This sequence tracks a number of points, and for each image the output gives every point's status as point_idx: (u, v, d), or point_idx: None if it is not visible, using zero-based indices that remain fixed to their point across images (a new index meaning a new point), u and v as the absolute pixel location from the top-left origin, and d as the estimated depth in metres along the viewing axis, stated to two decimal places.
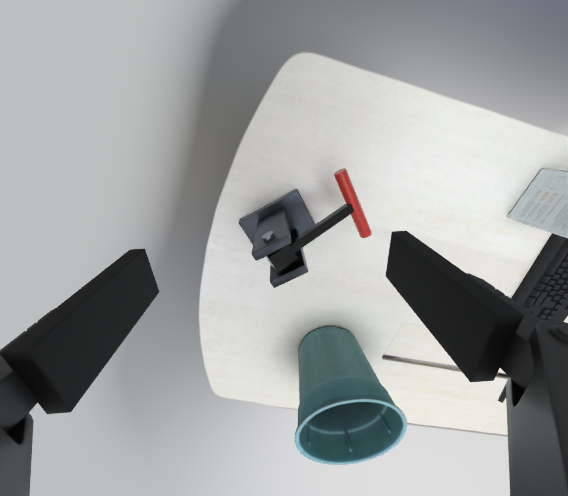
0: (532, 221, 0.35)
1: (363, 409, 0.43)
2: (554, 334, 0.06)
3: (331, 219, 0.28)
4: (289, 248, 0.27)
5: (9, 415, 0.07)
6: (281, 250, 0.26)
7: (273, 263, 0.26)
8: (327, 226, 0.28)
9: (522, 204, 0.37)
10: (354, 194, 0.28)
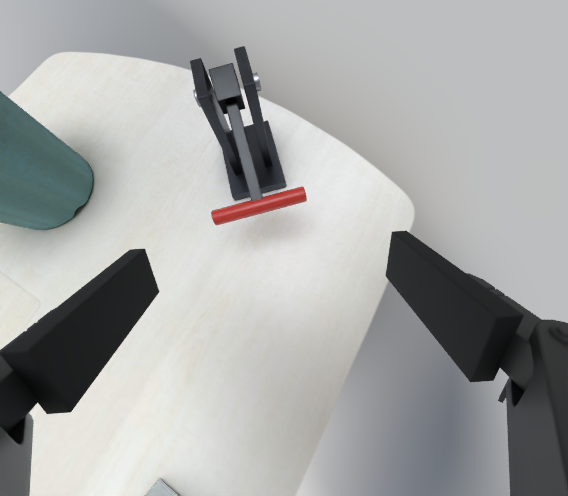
0: None
1: None
2: (554, 334, 0.06)
3: (251, 166, 0.22)
4: (235, 93, 0.21)
5: (9, 415, 0.07)
6: (236, 82, 0.21)
7: (223, 67, 0.21)
8: (244, 158, 0.22)
9: None
10: (273, 204, 0.22)
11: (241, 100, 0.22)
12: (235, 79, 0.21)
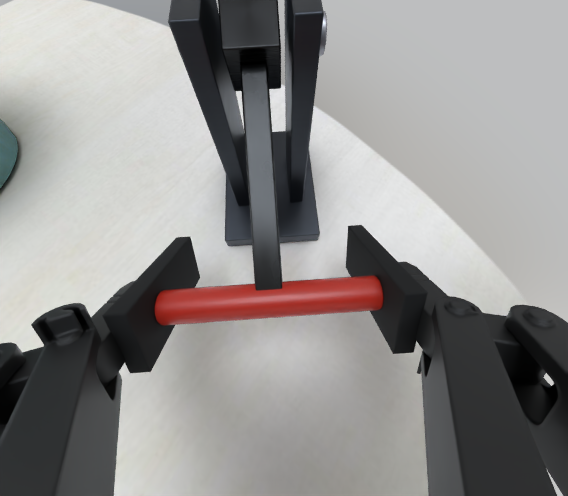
0: None
1: None
2: (448, 308, 0.07)
3: (269, 211, 0.10)
4: (267, 39, 0.09)
5: (109, 369, 0.08)
6: (275, 15, 0.09)
7: None
8: (258, 189, 0.10)
9: None
10: (304, 307, 0.09)
11: (277, 63, 0.10)
12: (274, 9, 0.09)
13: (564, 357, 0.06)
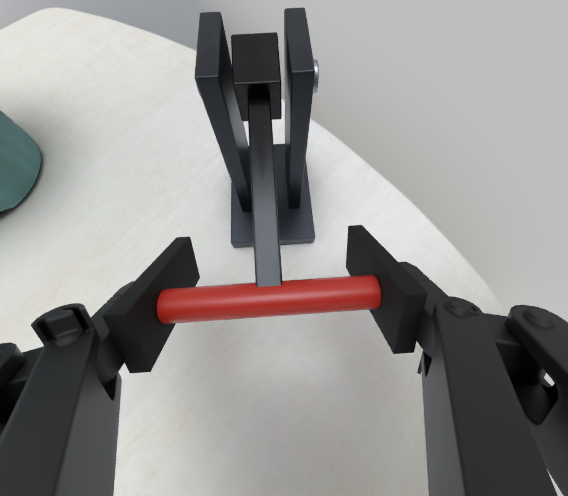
0: None
1: None
2: (448, 308, 0.07)
3: (270, 213, 0.10)
4: (270, 77, 0.11)
5: (109, 369, 0.08)
6: (276, 60, 0.11)
7: (258, 35, 0.11)
8: (260, 194, 0.11)
9: None
10: (303, 302, 0.10)
11: (278, 97, 0.12)
12: (276, 57, 0.11)
13: (565, 357, 0.05)
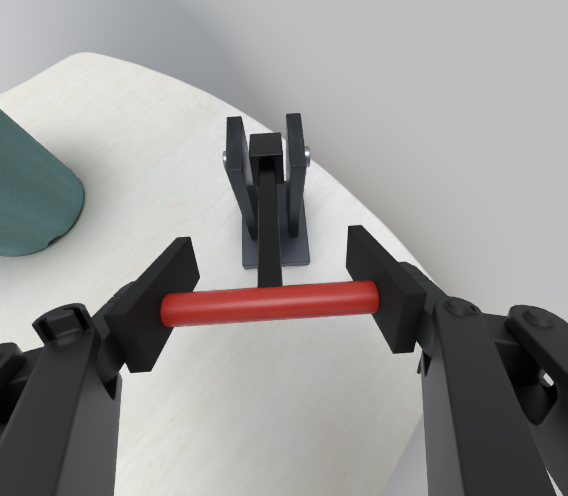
0: None
1: None
2: (448, 308, 0.07)
3: (273, 232, 0.12)
4: (275, 152, 0.15)
5: (109, 368, 0.08)
6: (280, 144, 0.16)
7: (268, 133, 0.17)
8: (265, 220, 0.13)
9: None
10: (303, 299, 0.10)
11: (281, 165, 0.16)
12: (279, 143, 0.16)
13: (564, 357, 0.06)
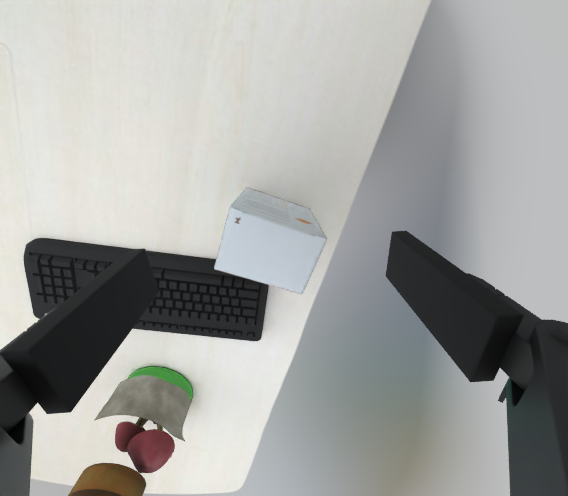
0: (246, 193, 0.24)
1: None
2: (555, 334, 0.06)
3: None
4: None
5: (9, 415, 0.07)
6: None
7: None
8: None
9: (266, 195, 0.27)
10: None
11: None
12: None
13: None
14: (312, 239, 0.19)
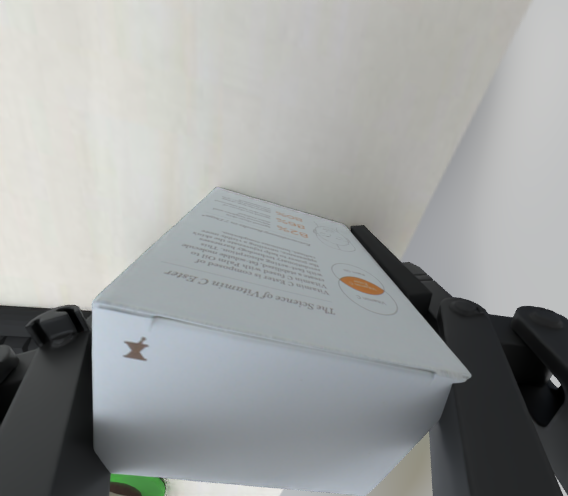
0: (209, 205, 0.10)
1: None
2: (453, 309, 0.07)
3: None
4: None
5: None
6: None
7: None
8: None
9: (257, 201, 0.13)
10: None
11: None
12: None
13: None
14: (424, 387, 0.05)
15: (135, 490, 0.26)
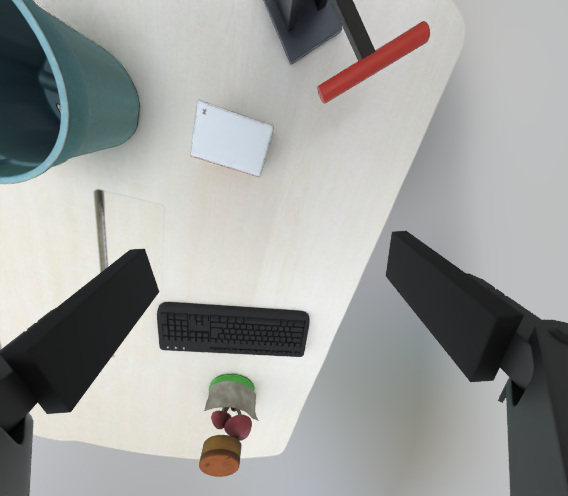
0: None
1: None
2: (554, 334, 0.06)
3: (355, 15, 0.19)
4: None
5: (9, 415, 0.07)
6: None
7: None
8: (345, 7, 0.19)
9: None
10: (390, 52, 0.19)
11: None
12: None
13: None
14: (262, 127, 0.25)
15: None
